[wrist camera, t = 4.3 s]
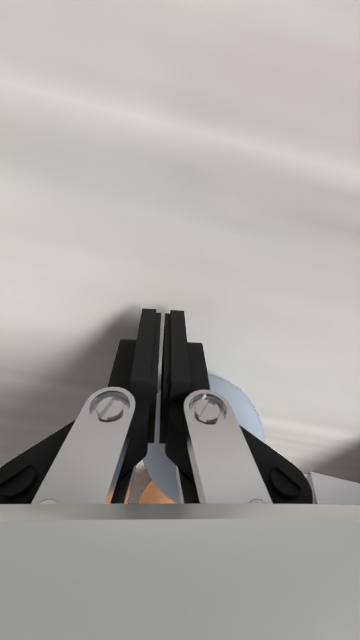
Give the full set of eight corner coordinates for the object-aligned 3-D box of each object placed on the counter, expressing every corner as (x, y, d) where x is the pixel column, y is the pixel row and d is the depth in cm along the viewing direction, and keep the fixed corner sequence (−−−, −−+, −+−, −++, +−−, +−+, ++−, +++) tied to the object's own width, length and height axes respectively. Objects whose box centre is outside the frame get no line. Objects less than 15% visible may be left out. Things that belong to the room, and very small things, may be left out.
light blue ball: (302, 473, 8) (268, 521, 12) (253, 346, 12) (239, 409, 16) (124, 487, 8) (144, 531, 11) (136, 353, 12) (148, 416, 16)
